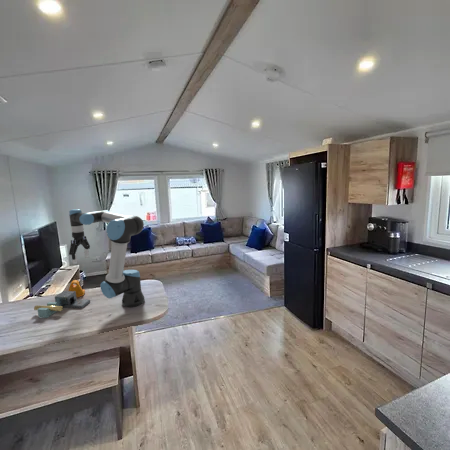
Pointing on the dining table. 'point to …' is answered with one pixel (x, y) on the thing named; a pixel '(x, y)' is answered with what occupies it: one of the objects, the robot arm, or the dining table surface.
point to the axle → (50, 308)
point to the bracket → (76, 288)
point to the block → (70, 300)
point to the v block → (46, 310)
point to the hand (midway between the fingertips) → (81, 260)
